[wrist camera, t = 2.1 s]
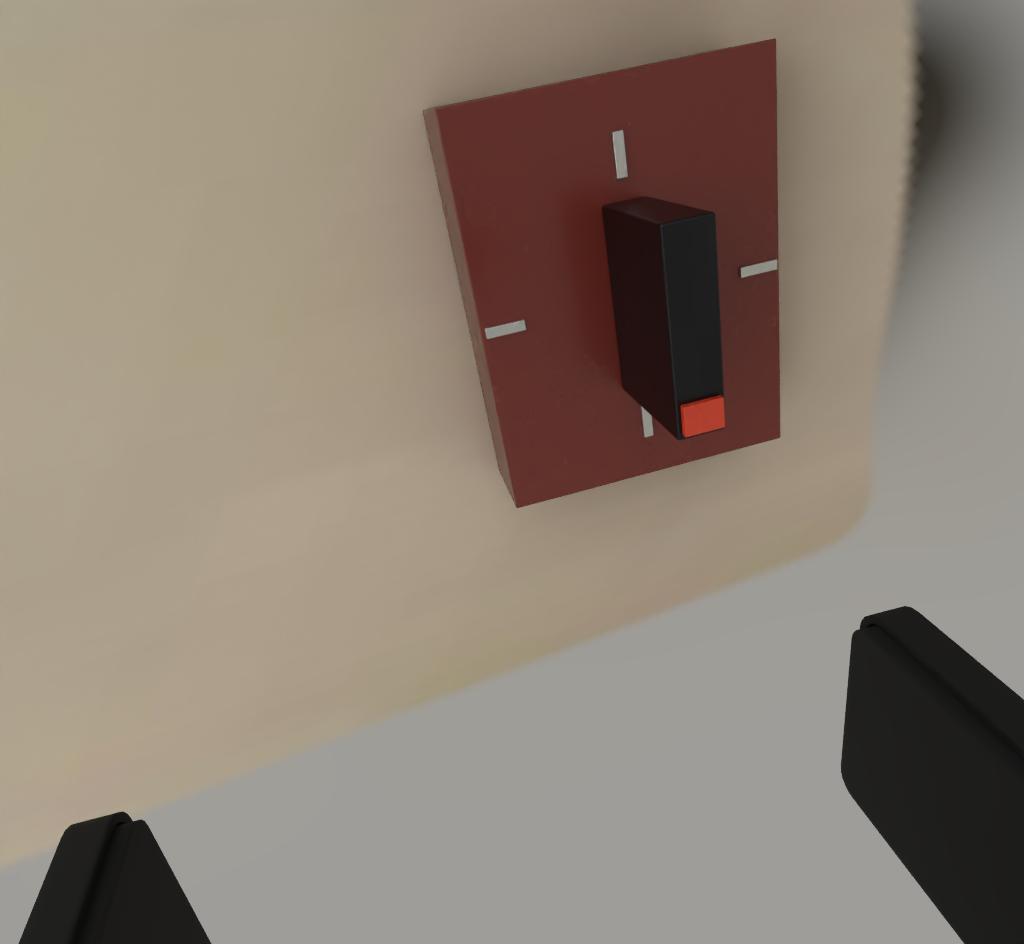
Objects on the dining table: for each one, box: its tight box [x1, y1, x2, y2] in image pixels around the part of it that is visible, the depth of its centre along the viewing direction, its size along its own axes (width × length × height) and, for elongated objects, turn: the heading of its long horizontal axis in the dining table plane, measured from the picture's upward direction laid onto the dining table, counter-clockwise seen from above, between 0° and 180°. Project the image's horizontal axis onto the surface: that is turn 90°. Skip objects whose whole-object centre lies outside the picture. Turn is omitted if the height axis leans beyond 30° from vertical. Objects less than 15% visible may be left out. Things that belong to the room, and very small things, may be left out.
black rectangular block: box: [602, 196, 726, 440], centre depth 23 cm, size 6×2×5 cm, turn 11°
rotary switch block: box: [423, 39, 780, 508], centre depth 27 cm, size 14×11×4 cm
